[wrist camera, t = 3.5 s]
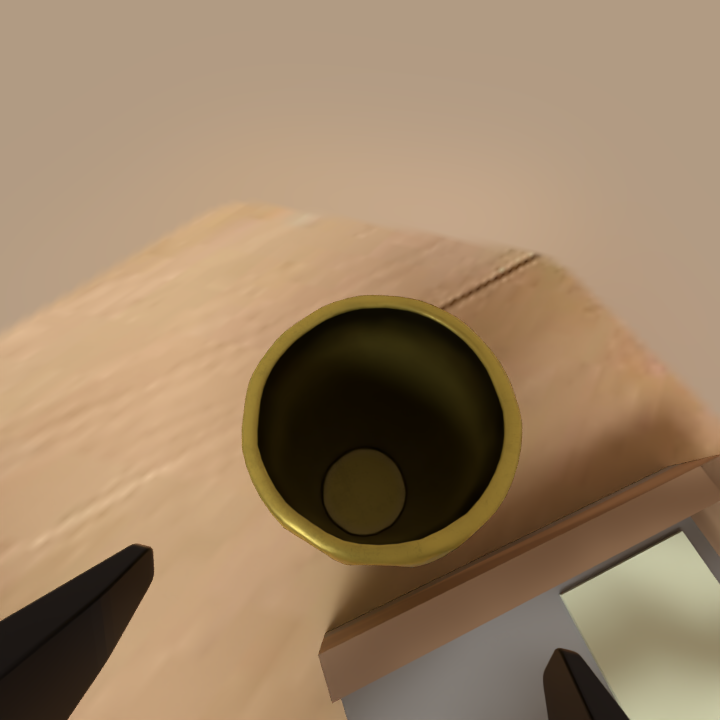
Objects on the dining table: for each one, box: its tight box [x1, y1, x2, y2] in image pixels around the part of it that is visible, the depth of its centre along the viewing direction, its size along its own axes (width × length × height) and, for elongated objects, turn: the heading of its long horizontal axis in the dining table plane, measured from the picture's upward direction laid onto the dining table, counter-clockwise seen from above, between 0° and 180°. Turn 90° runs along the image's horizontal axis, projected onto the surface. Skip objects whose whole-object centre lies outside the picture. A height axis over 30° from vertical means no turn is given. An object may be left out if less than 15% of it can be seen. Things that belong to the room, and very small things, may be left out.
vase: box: [242, 295, 522, 567], centre depth 13 cm, size 6×6×14 cm
